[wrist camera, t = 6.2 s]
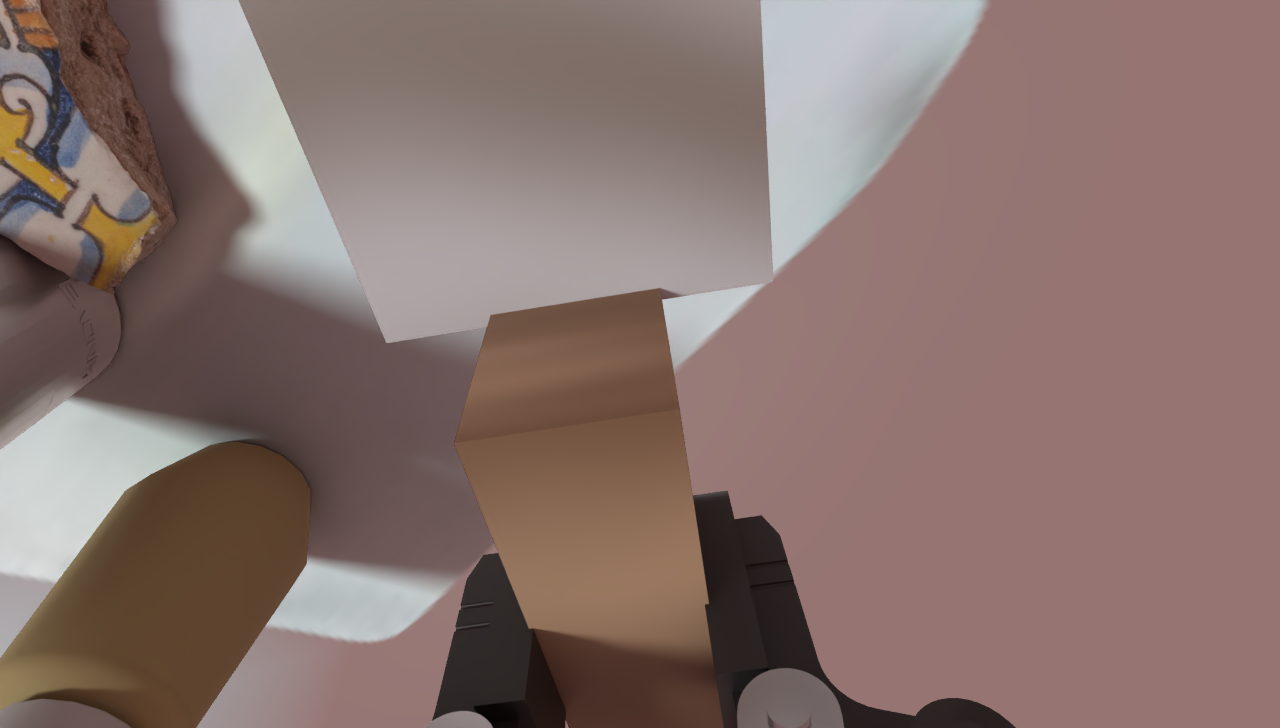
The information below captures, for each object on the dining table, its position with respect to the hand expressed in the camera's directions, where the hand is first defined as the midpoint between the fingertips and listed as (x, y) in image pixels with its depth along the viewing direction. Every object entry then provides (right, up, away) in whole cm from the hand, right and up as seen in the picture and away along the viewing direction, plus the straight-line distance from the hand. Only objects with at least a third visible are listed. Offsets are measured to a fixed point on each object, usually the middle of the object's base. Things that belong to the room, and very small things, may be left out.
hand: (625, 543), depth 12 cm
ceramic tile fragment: (-22, +12, +13) cm, 28 cm away
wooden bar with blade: (0, +2, 0) cm, 2 cm away
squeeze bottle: (-19, -3, +21) cm, 28 cm away
